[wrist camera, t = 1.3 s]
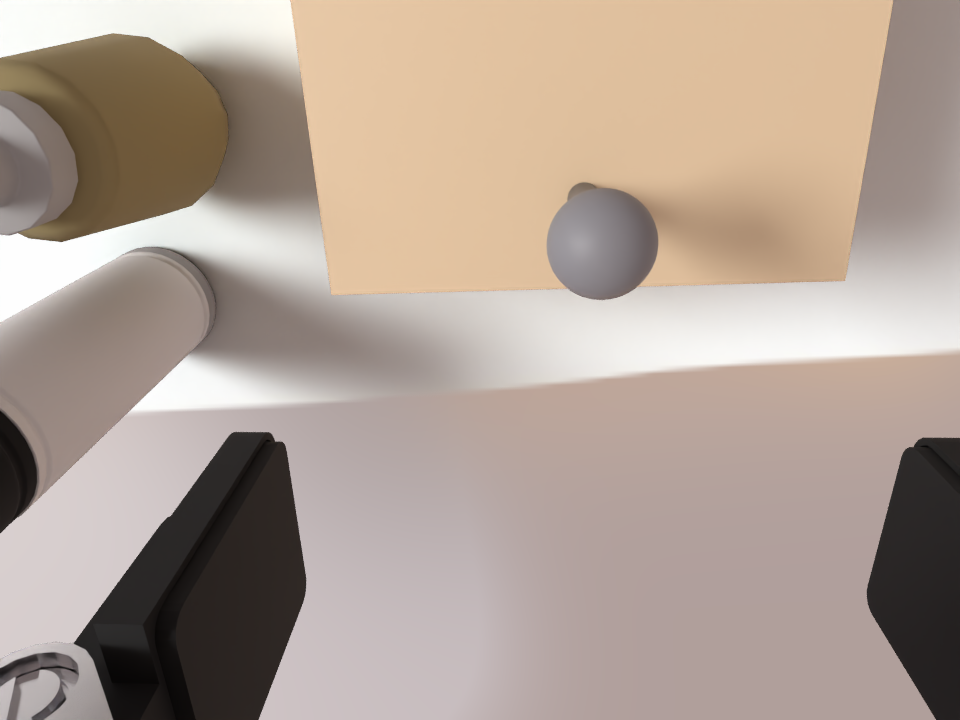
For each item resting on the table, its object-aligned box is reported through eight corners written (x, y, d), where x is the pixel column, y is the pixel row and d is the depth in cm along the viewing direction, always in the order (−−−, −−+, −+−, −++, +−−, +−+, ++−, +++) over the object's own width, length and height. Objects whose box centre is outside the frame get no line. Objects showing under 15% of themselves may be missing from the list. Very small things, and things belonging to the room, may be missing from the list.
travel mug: (89, 248, 40) (-276, 429, 21) (204, 243, 39) (-68, 423, 21) (119, 351, 42) (-183, 590, 24) (227, 347, 42) (3, 588, 24)
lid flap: (269, -191, 23) (137, -310, 15) (925, -238, 21) (1160, -396, 13) (334, 290, 29) (267, 383, 21) (838, 276, 28) (963, 369, 20)
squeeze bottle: (89, 172, 38) (-238, 276, 22) (101, 10, 35) (-275, -13, 18) (239, 218, 39) (31, 353, 22) (264, 63, 35) (43, 88, 19)
